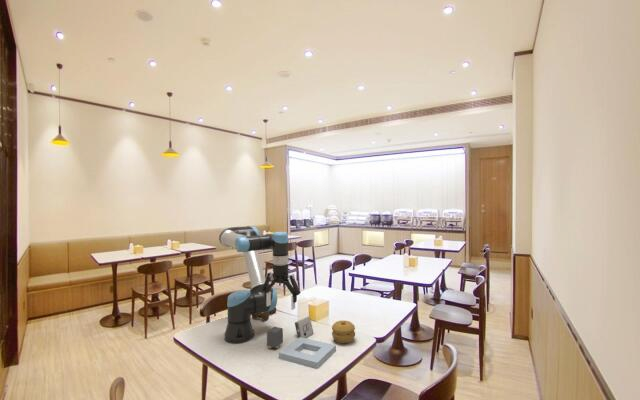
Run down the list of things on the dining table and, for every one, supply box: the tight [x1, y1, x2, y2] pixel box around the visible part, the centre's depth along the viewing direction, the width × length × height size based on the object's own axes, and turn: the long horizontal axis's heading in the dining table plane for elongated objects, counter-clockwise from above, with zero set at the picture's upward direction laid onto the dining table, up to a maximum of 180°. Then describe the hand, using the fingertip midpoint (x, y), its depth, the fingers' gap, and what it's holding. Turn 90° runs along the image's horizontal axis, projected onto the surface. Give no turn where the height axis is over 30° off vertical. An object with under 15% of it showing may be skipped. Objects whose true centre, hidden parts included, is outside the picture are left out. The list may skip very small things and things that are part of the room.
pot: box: [331, 320, 356, 344], centre depth 155 cm, size 12×12×10 cm
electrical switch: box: [294, 316, 314, 339], centre depth 162 cm, size 9×5×9 cm, turn 141°
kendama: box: [251, 306, 277, 322], centre depth 190 cm, size 6×10×20 cm
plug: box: [266, 326, 284, 349], centre depth 150 cm, size 5×6×8 cm
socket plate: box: [278, 337, 337, 369], centre depth 142 cm, size 20×18×2 cm
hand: (280, 307), depth 151 cm, fingers open, 13 cm apart
